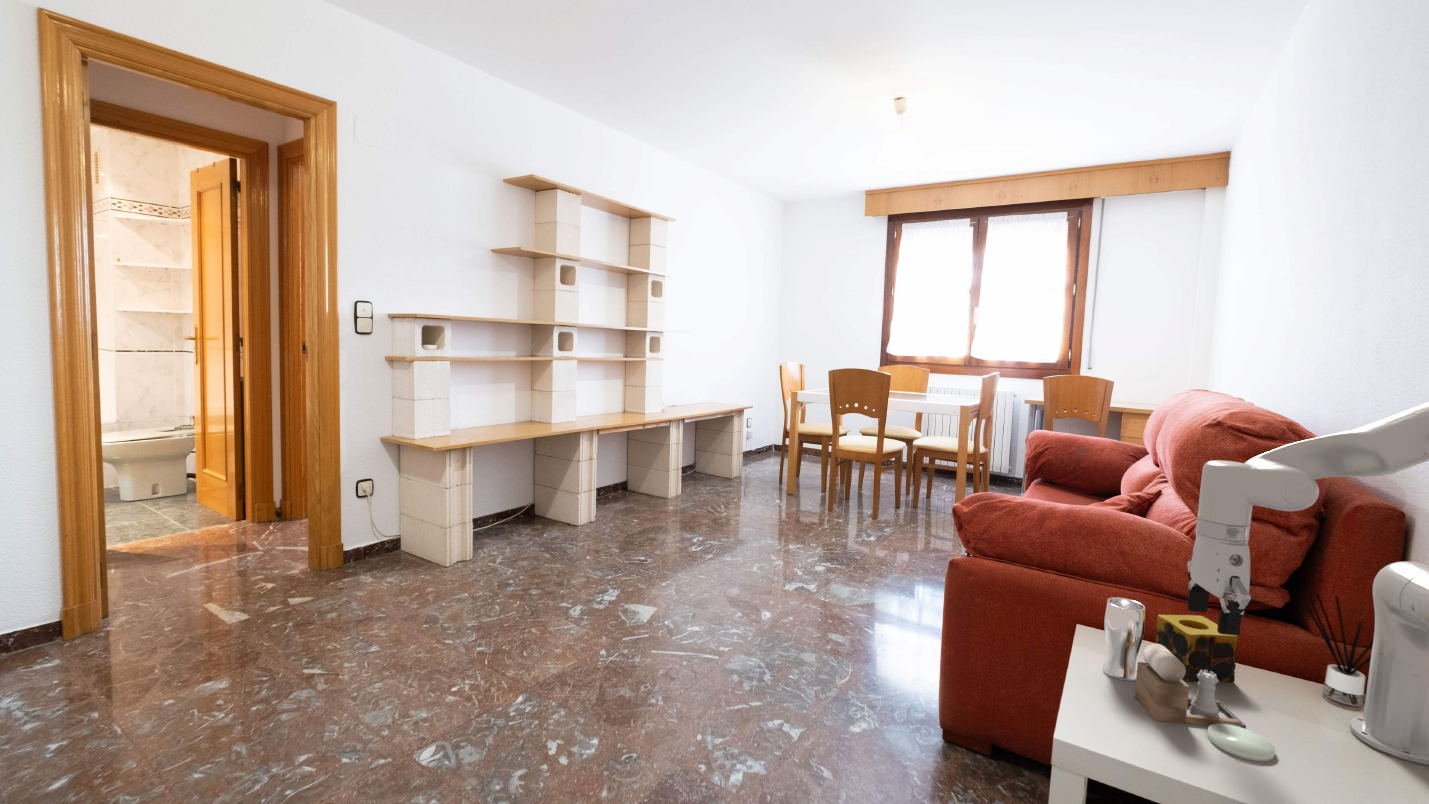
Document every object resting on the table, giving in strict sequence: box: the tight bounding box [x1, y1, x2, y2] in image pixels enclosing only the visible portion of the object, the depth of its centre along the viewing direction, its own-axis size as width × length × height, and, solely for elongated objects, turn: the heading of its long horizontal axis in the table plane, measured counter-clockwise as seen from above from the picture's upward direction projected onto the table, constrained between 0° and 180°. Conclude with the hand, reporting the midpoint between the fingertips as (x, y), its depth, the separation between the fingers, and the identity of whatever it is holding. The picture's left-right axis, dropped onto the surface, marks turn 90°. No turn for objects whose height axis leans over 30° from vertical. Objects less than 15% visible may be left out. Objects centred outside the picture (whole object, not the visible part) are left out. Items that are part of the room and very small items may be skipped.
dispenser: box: [1134, 643, 1247, 729], centre depth 121 cm, size 15×8×11 cm, turn 80°
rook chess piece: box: [1188, 670, 1220, 717], centre depth 121 cm, size 4×4×8 cm
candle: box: [1155, 614, 1239, 683], centre depth 137 cm, size 10×10×10 cm
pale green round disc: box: [1206, 724, 1276, 763], centre depth 112 cm, size 9×9×1 cm
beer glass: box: [1102, 596, 1146, 682], centre depth 135 cm, size 7×7×15 cm
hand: (1211, 622), depth 119 cm, fingers open, 9 cm apart
